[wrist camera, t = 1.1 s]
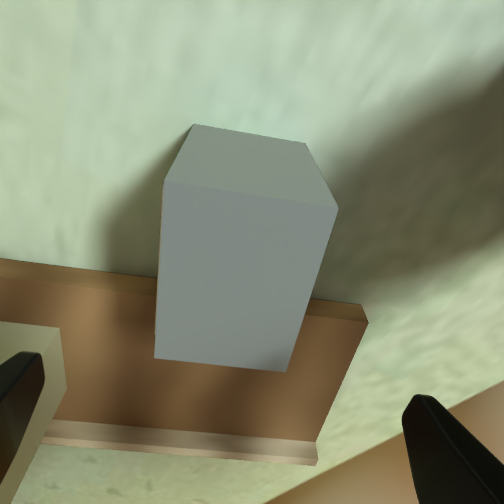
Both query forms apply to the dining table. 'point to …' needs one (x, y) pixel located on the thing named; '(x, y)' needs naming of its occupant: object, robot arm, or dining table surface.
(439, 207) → the dining table surface
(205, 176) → the tea tin
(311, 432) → the shelf
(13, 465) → the sage tin
